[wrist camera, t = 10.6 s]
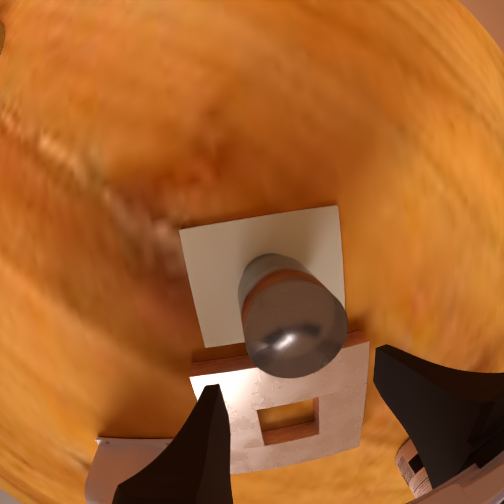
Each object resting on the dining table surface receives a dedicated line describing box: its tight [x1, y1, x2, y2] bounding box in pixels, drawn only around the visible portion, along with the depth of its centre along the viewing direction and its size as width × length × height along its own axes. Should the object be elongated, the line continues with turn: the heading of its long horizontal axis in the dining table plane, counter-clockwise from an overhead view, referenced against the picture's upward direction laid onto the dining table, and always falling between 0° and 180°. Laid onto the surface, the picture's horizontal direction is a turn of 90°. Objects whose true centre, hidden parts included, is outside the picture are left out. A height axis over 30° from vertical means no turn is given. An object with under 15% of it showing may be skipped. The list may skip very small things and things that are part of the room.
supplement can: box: [395, 439, 432, 498], centre depth 21 cm, size 8×8×15 cm
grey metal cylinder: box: [238, 253, 348, 379], centre depth 16 cm, size 5×5×8 cm
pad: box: [179, 205, 345, 348], centre depth 21 cm, size 11×9×1 cm
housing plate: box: [190, 330, 370, 474], centre depth 23 cm, size 14×14×2 cm
